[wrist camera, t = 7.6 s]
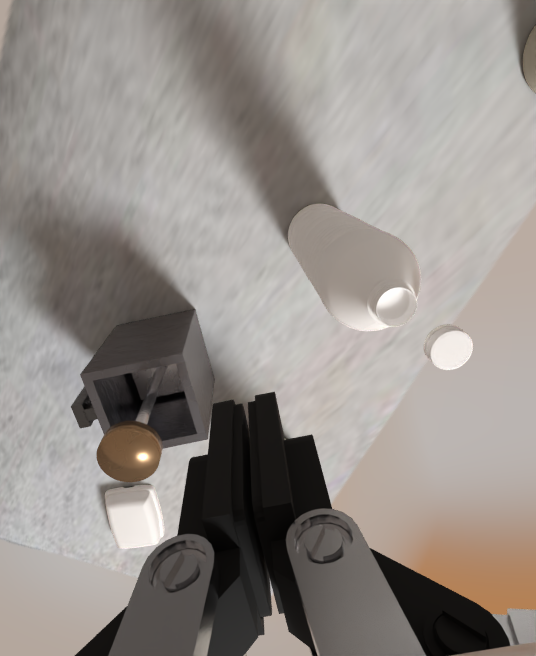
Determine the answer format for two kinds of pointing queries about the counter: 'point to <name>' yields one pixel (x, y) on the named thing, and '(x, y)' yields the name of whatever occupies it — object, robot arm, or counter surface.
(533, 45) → the travel mug
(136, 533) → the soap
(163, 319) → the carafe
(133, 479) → the plunger
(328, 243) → the water bottle
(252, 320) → the counter surface
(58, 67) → the counter surface
